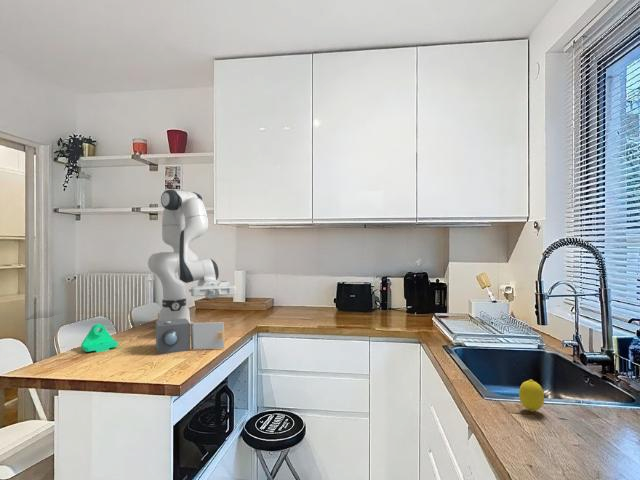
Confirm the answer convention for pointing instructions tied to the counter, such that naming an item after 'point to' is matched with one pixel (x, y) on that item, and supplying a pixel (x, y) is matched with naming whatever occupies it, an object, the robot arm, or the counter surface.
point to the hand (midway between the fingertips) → (216, 293)
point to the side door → (207, 335)
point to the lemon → (531, 395)
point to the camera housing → (172, 336)
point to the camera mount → (98, 340)
